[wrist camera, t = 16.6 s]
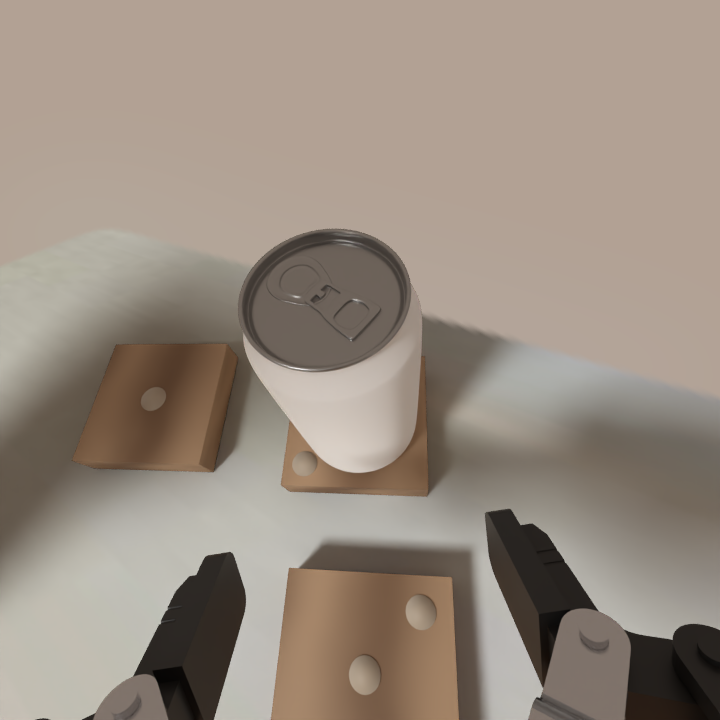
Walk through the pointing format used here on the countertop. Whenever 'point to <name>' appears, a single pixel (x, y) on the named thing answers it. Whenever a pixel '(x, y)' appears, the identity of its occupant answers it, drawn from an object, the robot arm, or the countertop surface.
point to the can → (337, 344)
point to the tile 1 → (159, 408)
